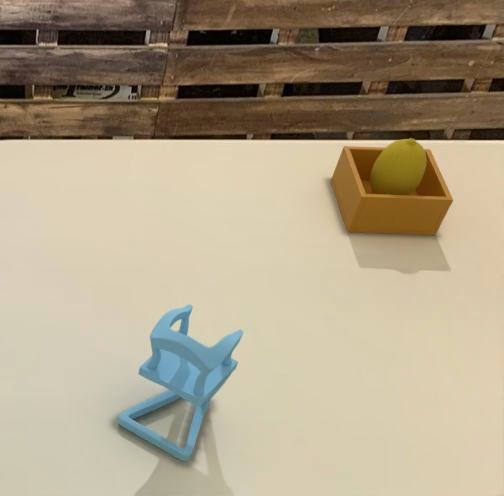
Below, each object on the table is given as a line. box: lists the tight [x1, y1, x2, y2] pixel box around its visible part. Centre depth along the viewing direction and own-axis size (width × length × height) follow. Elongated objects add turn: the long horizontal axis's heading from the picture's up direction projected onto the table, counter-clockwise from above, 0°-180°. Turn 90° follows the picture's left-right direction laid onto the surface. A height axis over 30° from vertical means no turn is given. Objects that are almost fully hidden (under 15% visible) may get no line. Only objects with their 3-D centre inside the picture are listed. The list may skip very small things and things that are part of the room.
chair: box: [117, 304, 244, 462], centre depth 82 cm, size 8×8×12 cm
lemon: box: [370, 137, 427, 195], centre depth 103 cm, size 6×6×8 cm
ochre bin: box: [330, 145, 454, 236], centre depth 105 cm, size 10×10×5 cm
